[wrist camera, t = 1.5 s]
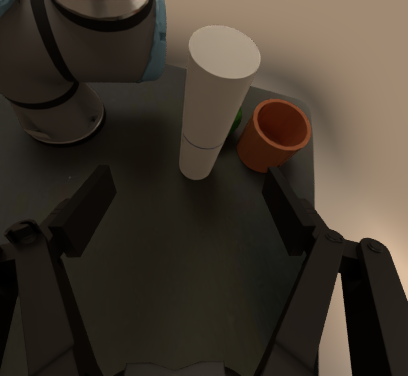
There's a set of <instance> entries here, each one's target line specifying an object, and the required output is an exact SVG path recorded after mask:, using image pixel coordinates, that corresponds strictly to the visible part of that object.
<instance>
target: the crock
mask: <svg viewBox="0 0 408 376" xmlns="http://www.w3.org/2000/svg"><path fill="white" fill-rule="evenodd" d="M310 136H311V126H310V123H309V121H308V118H307V117H306V116H305V114H304V113H303V112H302V111H301V110H300V109H299V108H298V107H297V106H295V105H294V104H292V103H290V102H288V101H284V100H281V99H269V100H266V101H263V102H262V103H260V104H259V105H258V106H257V107H256V109H255V111H254V113H253V114H252V116H251V118H250V120H249V121H248V123H247V125H246V127H245V128H244V130H243V132H242V134H241V135H240V137H239V139H238V142H237V152H238V155H239V157H240V159H241V161H242V162H243V163H244V164H245V165H246V166H247V167H249V168H250V169H252V170H254V171H257V172H262V173H267V169H268V167H278V168H279V167H280V166H281V165H282V164H283V163H285V162H286V161H287V160H288V159H289V158H291V157H292V156H293V155H294V154H295V153H297V152H298V151H299V150H300V149H301V148H303V147H304V146H305V145H306V144H307V143H308V141H309V139H310Z"/></svg>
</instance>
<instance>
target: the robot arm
mask: <svg viewBox="0 0 408 376" xmlns="http://www.w3.org/2000/svg"><path fill="white" fill-rule="evenodd" d="M165 37H166V9H165V1H164V0H0V93H1V94H2V95H3V96H5V97H6V98H7V99H8V100H9V101H10V104H11V106H12V108H13V110H14V112H15V114H16V116H17V118H18V120H19V122H20V124H21V126H22V127H23V130H25V131H26V132H27V133H28V134H29V135H31V136H32V137H33V138H34V139H35V140H37V141H39V142H40V143H43V144H45V145H48V146H53V147H71V146H76V145H79V144H82V143H84V142H86V141H88V140H90V139H91V138H93V137H94V136H95V135H96V134H97V133H98V132H99V131H100V130H101V128H102V127H103V125H104V122H105V117H106V112H105V108H104V105H103V103H102V101H101V99H100V97H99V96H98V94H97V93H96V92H95V91H94V90H93V89H92V88H91V87H90V86H89V85H88V84H87V83H86V82H120V83H141V82H144V81H155V80H157V79H158V78H159V77H160V76H161V75H162V73H163V69H164V64H165V56H166V38H165ZM116 193H117V192H116V188H115V185H114V182H113V178H112V175H111V172H110V169H109V165H99V166H98V167H97V168H96V169H95V171H94V172H93V173H92V174H91V175H90V177H89V178H88V179H87V180H86V181H85V182H84V184H83V185H82V186H81V187H80V188H79V190H78V191H77V192H76V193H75V194H74V195H73V197H72V198H71V199H65V200H64V201H62V202H61V203H59V204H58V205H57V207H56V208H55V209H54V210H53V211H52V212H51V213H50V215H49V216H48V217H47V218H46V219H45V220H44V221H43V222H42V223H41V225H40V226H38V225H37V223H36V222H35V221H34V220H23V221H20V222H17V223H15V224H13V225H12V226H10V227H9V228H8V229H7V230H6V231H5V234H4V235H5V237H6V238H7V239H8V240H9V241H10V242H11V243H8V244H4V245H0V368H1V364H2V359H3V355H4V351H5V347H6V342H7V338H8V334H9V330H10V325H11V321H12V317H13V313H14V308H15V304H16V300H17V296H18V291H19V297H20V306H21V314H22V322H23V331H24V339H25V347H26V355H27V364H28V374H29V376H103V374H102V372H101V370H100V368H99V366H98V364H97V362H96V359H95V356H94V353H93V350H92V347H91V344H90V341H89V338H88V335H87V332H86V330H85V327H84V324H83V321H82V318H81V315H80V312H79V309H78V306H77V303H76V300H75V297H74V294H73V291H72V288H71V285H70V282H69V279H68V276H67V273H66V270H65V267H64V264H63V261H62V259H61V258H60V256H61V255H62V253H63V252H64V253H65V254H66V256H67V257H81V255H82V253H83V251H84V250H85V248H86V246H87V244H88V243H89V241H90V239H91V237H92V236H93V234H94V232H95V230H96V228H97V227H98V225H99V223H100V221H101V220H102V218H103V216H104V214H105V212H106V211H107V209H108V207H109V205H110V204H111V202H112V200H113V198H114V196H115V195H116ZM262 195H263V197H264V199H265V201H266V204H267V206H268V208H269V211H270V213H271V215H272V218H273V220H274V222H275V224H276V227H277V229H278V231H279V234H280V236H281V238H282V240H283V243H284V245H285V247H286V250H287V252H288V254H289V256H301V255H302V253H303V251H305V252H306V254H307V256H306V258H305V260H304V261H303V263H302V267H301V269H300V272H299V274H298V276H297V278H296V281H295V283H294V285H293V288H292V290H291V292H290V295H289V297H288V299H287V302H286V304H285V306H284V308H283V311H282V313H281V315H280V318H279V320H278V322H277V325H276V327H275V329H274V331H273V334H272V336H271V338H270V341H269V343H268V345H267V348H266V350H265V352H264V354H263V357H262V359H261V361H260V363H259V365H258V367H257V369H256V371H255V373H254V376H315V374H314V371H313V368H314V363H315V359H316V355H317V351H318V347H319V344H320V340H321V336H322V332H323V328H324V324H325V320H326V316H327V313H328V309H329V305H330V301H331V296H332V293H333V289H334V285H335V282H336V278H337V274H338V273H341V280H342V289H343V298H344V307H345V316H346V324H347V333H348V343H349V351H350V360H351V369H352V376H408V301H407V298H406V295H405V293H404V290H403V287H402V284H401V282H400V279H399V276H398V273H397V271H396V268H395V265H394V263H393V260H392V257H391V254H390V252H389V250H388V249H387V248H386V246H384V245H383V244H382V243H380V242H379V241H377V240H374V239H371V238H363V239H362V240H361V241H360V242H359V243H358V242H354V241H350V240H346V239H344V238H343V236H342V235H340V234H339V233H338V232H336V231H334V230H331V229H329V228H328V227H327V225H326V224H325V223H324V221H323V220H322V218H321V217H320V216H319V214H318V213H317V211H316V210H315V209H314V207H313V206H312V204H311V203H310V202H308V201H307V200H306V199H298V197H297V196H296V194H295V193H294V191H293V190H292V188H291V187H290V185H289V184H288V182H287V181H286V179H285V178H284V176H283V174H282V173H281V171H280V170H279V168H278V167H268V169H267V173H266V177H265V182H264V186H263V190H262ZM114 376H241V375H240V374H238V373H237V372H235V371H234V370H232V369H230V368H227V367H225V366H224V361H200V362H197V363H194V364H192V365H189V366H187V367H184V368H181V369H179V370H171V369H168V368H165V367H162V366H159V365H156V364H153V363H126V367H125V370H123V371H121V372H119V373H117V374H115V375H114Z"/></svg>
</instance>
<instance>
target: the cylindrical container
mask: <svg viewBox="0 0 408 376" xmlns="http://www.w3.org/2000/svg"><path fill="white" fill-rule="evenodd" d="M260 60H261V57H260V52H259V50H258V48H257V46H256V45H255V43H254V42H253V41H252V40H251V39H250V38H249V37H248V36H246V35H245V34H244V33H242V32H240V31H238V30H236V29H233V28H231V27H226V26H220V25H212V26H211V25H210V26H205V27H203V28H200V29H199V30H197V31H195V33H194V34H193V35H192V36H191V38H190V41H189V48H188V60H187V72H186V85H185V97H184V109H183V121H182V134H181V146H180V158H179V168H180V170H181V172H182V173H183V175H185V176H186V177H187V178H189V179H192V180H200V179H203V178H205V177H207V176H208V175H209V173H210V172H211V170H212V167H213V165H214V163H215V161H216V159H217V156H218V154H219V152H220V150H221V148H222V146H223V143H224V141H225V139H226V137H227V135H228V133H229V130H230V128H231V126H232V124H233V122H234V119H235V117H236V115H237V113H238V111H239V108H240V106H241V104H242V102H243V100H244V98H245V95H246V93H247V91H248V89H249V87H250V85H251V82H252V80H253V78H254V76H255V74H256V72H257V70H258V67H259V65H260Z"/></svg>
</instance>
